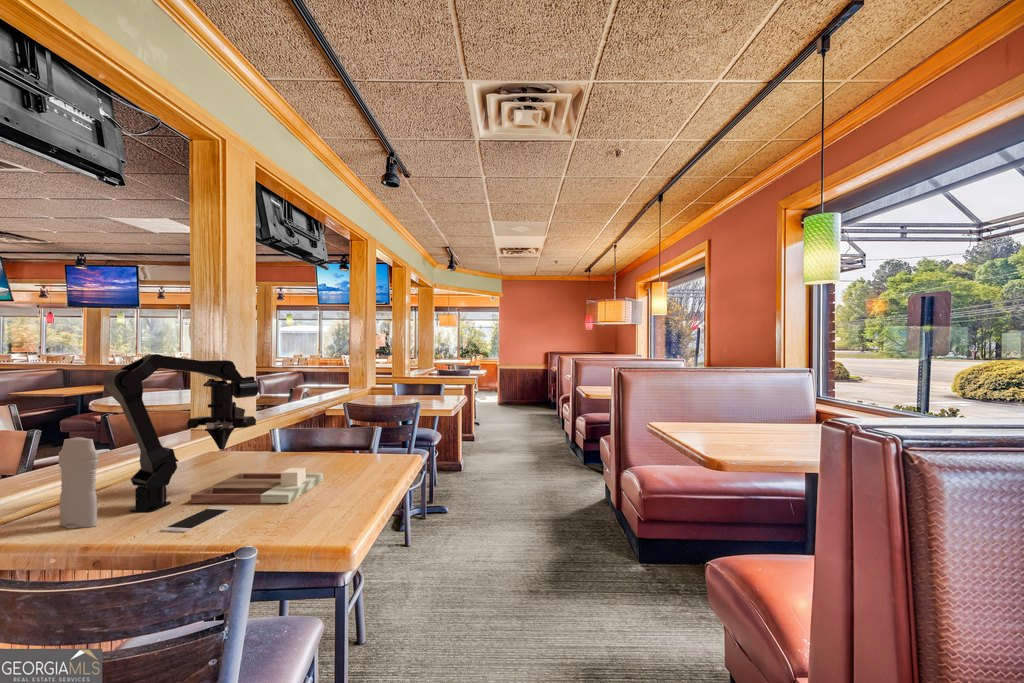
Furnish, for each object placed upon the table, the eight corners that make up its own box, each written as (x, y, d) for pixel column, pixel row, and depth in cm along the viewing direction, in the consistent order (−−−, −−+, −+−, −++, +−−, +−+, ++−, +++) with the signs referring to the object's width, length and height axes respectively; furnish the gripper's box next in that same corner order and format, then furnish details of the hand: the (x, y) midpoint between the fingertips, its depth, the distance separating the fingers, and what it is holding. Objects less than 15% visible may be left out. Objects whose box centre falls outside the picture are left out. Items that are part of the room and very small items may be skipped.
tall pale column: (50, 528, 107) (50, 438, 107) (68, 521, 111) (68, 435, 111) (88, 529, 106) (88, 439, 106) (105, 522, 110) (105, 435, 110)
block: (297, 486, 130) (297, 472, 130) (280, 486, 130) (280, 472, 130) (305, 480, 135) (305, 467, 135) (289, 480, 135) (289, 467, 135)
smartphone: (235, 510, 119) (235, 506, 119) (186, 534, 104) (186, 530, 104) (211, 509, 120) (211, 505, 120) (159, 533, 105) (159, 529, 105)
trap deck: (288, 503, 122) (288, 494, 122) (191, 503, 123) (191, 494, 123) (323, 480, 143) (323, 473, 143) (239, 480, 144) (239, 473, 144)
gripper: (266, 396, 145) (266, 443, 145) (211, 397, 146) (211, 443, 146) (244, 401, 134) (244, 451, 134) (185, 401, 135) (185, 452, 134)
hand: (222, 449), depth 137 cm, fingers closed
